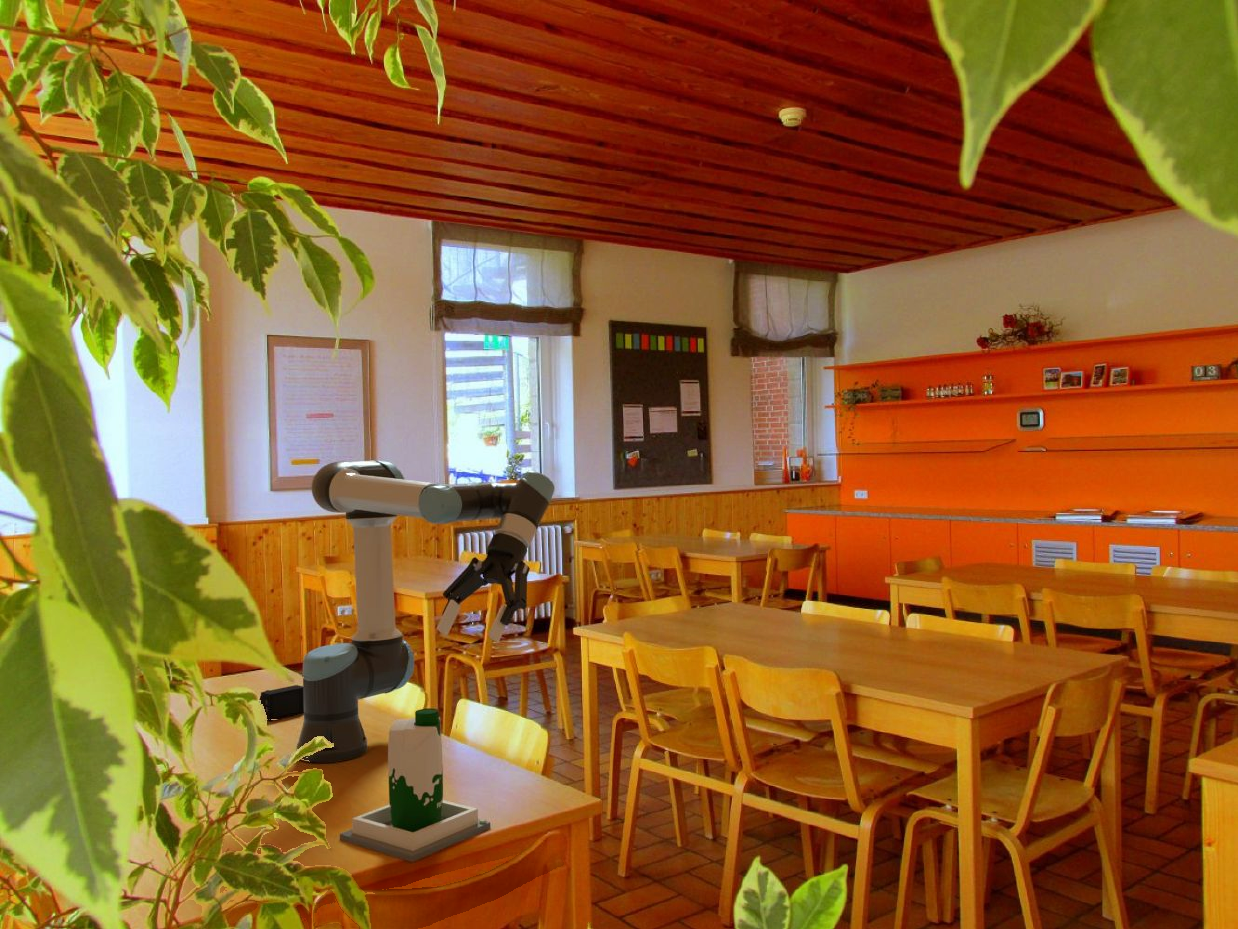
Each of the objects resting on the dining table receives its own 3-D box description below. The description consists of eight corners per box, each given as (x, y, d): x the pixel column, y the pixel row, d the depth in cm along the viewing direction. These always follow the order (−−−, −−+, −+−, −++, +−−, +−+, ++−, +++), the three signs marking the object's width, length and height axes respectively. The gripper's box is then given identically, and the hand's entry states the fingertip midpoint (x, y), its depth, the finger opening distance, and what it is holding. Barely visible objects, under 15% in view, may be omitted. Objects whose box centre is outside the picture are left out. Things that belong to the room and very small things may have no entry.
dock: (339, 839, 174) (339, 819, 174) (419, 809, 189) (418, 790, 189) (412, 862, 163) (412, 840, 163) (490, 827, 178) (489, 807, 178)
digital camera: (295, 710, 268) (294, 683, 268) (306, 713, 265) (305, 686, 265) (258, 718, 261) (258, 691, 261) (270, 721, 257) (269, 694, 257)
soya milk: (441, 835, 172) (438, 716, 172) (386, 838, 172) (383, 719, 171) (446, 817, 181) (443, 704, 181) (394, 820, 180) (391, 706, 180)
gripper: (569, 554, 200) (526, 651, 190) (476, 549, 215) (432, 638, 204) (549, 533, 195) (504, 631, 185) (455, 529, 210) (409, 620, 200)
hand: (466, 635), depth 195 cm, fingers open, 13 cm apart
